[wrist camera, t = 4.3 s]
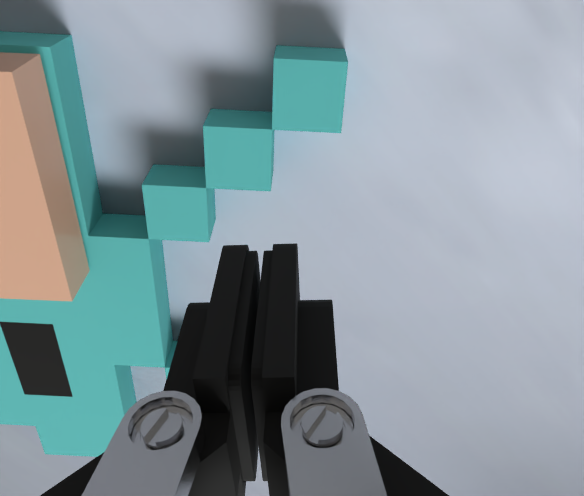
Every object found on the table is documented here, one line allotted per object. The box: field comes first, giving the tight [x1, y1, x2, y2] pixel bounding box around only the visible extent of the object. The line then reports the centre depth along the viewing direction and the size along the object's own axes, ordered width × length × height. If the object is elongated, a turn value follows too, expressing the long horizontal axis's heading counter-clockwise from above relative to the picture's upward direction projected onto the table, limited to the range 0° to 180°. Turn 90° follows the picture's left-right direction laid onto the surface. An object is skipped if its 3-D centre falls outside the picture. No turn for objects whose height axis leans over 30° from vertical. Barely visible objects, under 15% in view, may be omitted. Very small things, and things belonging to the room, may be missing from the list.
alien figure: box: [0, 31, 348, 457], centre depth 22 cm, size 20×2×20 cm
